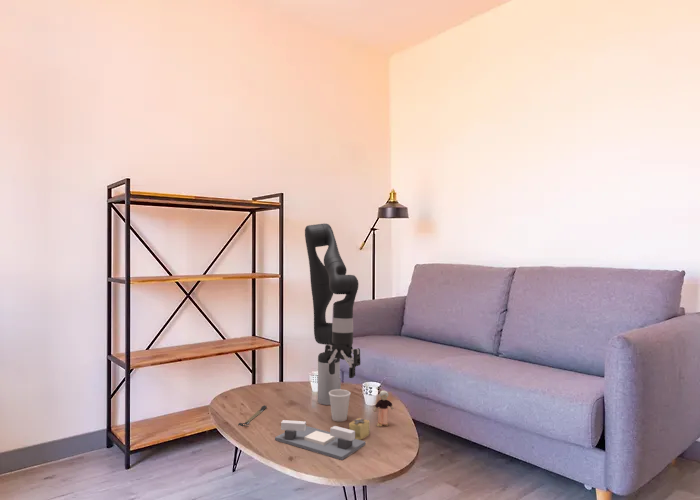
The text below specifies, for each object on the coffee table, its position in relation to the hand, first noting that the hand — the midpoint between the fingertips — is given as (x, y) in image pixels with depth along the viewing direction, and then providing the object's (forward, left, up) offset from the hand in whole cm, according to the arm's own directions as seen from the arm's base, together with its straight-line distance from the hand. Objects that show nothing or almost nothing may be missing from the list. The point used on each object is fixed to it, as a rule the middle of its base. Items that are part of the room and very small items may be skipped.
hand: (341, 375), depth 168 cm
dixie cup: (-8, -7, -19) cm, 22 cm away
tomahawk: (+7, -34, -20) cm, 40 cm away
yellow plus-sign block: (+2, +8, -19) cm, 21 cm away
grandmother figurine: (-12, +10, -19) cm, 25 cm away
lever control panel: (+14, 0, -19) cm, 23 cm away
